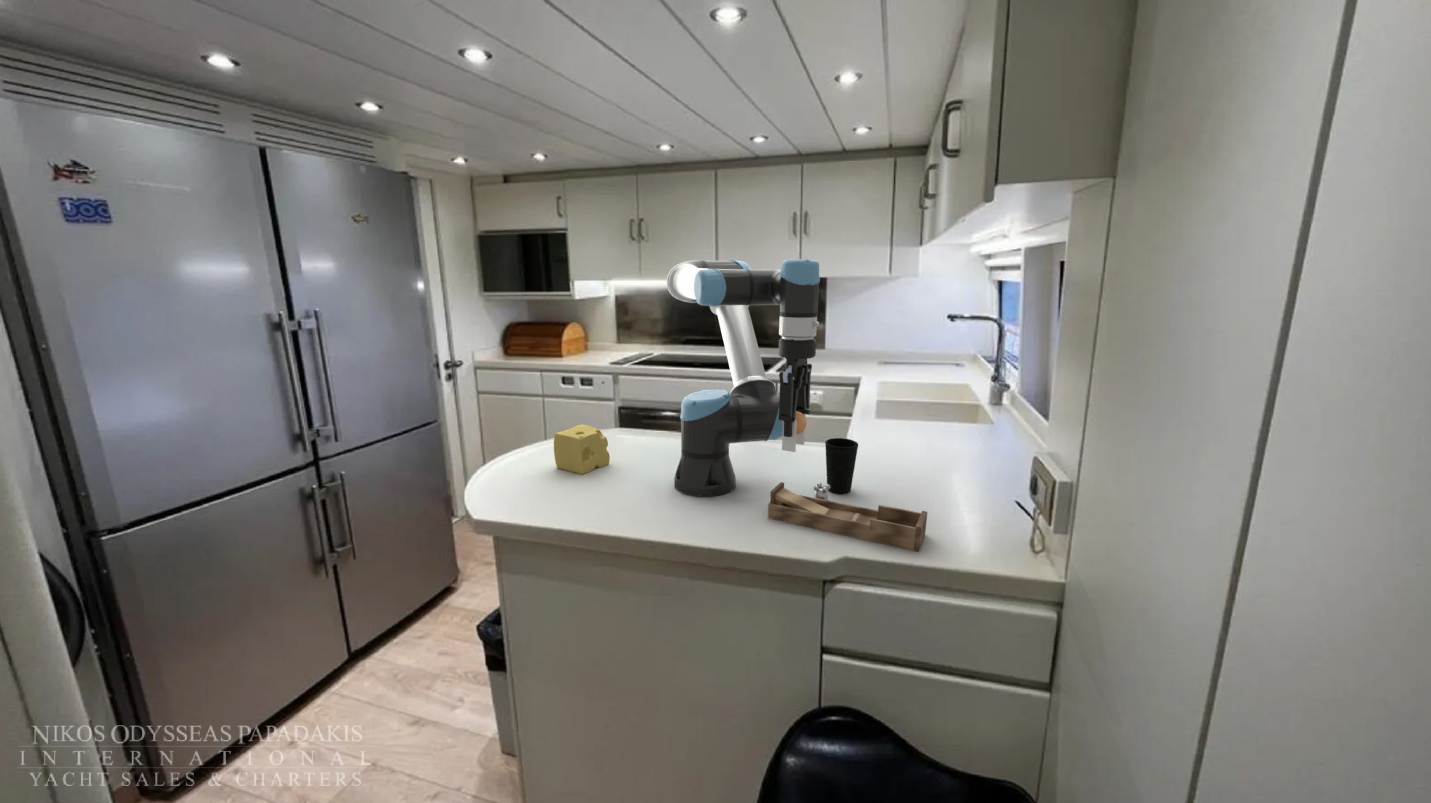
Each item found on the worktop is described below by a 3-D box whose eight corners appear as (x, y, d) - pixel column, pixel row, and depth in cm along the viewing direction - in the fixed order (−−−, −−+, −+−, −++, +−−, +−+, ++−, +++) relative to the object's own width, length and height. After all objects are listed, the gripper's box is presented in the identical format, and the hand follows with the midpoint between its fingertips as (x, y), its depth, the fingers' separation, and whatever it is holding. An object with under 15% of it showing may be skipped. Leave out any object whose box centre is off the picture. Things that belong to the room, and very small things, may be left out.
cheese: (610, 464, 154) (608, 429, 151) (581, 476, 145) (579, 439, 142) (582, 457, 159) (581, 423, 157) (553, 468, 150) (551, 432, 148)
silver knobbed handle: (806, 507, 126) (807, 486, 125) (813, 499, 131) (814, 479, 130) (828, 511, 124) (829, 490, 123) (835, 503, 128) (836, 483, 127)
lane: (768, 517, 121) (768, 492, 119) (781, 504, 128) (782, 480, 126) (919, 551, 107) (921, 523, 105) (925, 534, 114) (927, 507, 112)
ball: (801, 438, 115) (802, 415, 114) (778, 435, 117) (779, 412, 116) (809, 432, 120) (810, 410, 118) (786, 429, 122) (787, 407, 121)
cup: (855, 497, 132) (858, 448, 129) (822, 494, 134) (825, 446, 131) (854, 485, 139) (857, 439, 137) (823, 482, 141) (825, 437, 138)
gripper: (800, 343, 104) (795, 462, 110) (828, 334, 120) (822, 438, 125) (763, 341, 108) (760, 456, 113) (794, 332, 123) (791, 433, 129)
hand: (793, 446), depth 119 cm, fingers closed on ball, 5 cm apart
